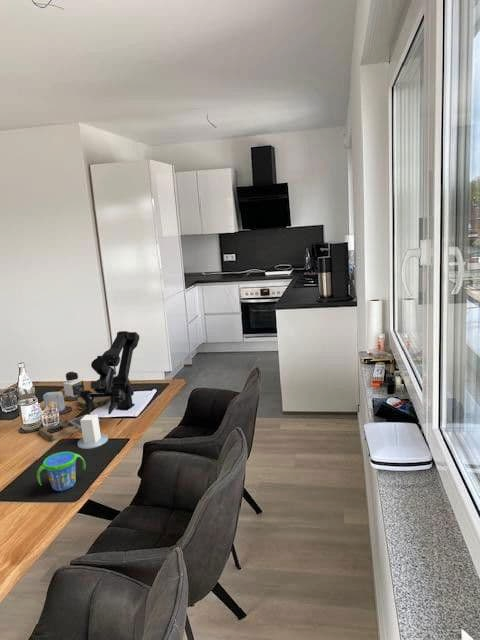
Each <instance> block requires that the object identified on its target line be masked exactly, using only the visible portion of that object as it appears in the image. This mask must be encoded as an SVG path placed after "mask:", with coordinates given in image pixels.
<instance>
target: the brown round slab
mask: <svg viewBox="0 0 480 640" xmlns="http://www.w3.org/2000/svg"><path fill="white" fill-rule="evenodd" d="M91 392H92V393H96V391H91ZM92 401H94V402H93V406H92V409H96V408H100V407H103V406H106V405H107V404H110V402H111V397H94V399H93V400H92ZM77 405H78V407H79V408H80V409H87V407H86V402H85V401H84V400H83V399H82V398H81V397H80V396H78V398H77Z"/></svg>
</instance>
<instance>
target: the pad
mask: <svg viewBox="0 0 480 640" xmlns="http://www.w3.org/2000/svg"><path fill="white" fill-rule="evenodd" d="M100 434H101V438H100V439H99V440H98V441H97V442H96V443H84V440H83V437H82V438H80V439H79V440H77V443H76V444H77V447H78V448H80V449H84V450H89V449H96V448H99V447H101V446H103V445H105V444H106V443H107V442H108V441H109V437H108V435H107V434H105V433H100Z"/></svg>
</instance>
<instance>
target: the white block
mask: <svg viewBox="0 0 480 640" xmlns="http://www.w3.org/2000/svg"><path fill="white" fill-rule="evenodd" d="M84 415H85V416H84ZM84 415H83V416H84V417H83V418H82V419H81V420H80V422H81V428H82V429H81V432H82V433H81V434H82V438H83V440H84V443H96V442H97V441H98V440H99V439H100V438H101V434H102V433H101V429H100V422H99V421H98V418H99V417H98V416H99V415H98V414H91V415H87V414H84Z"/></svg>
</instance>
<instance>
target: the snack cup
mask: <svg viewBox="0 0 480 640" xmlns="http://www.w3.org/2000/svg"><path fill="white" fill-rule="evenodd" d="M78 458H79V459H80V460H81V464H82V469H83V470H86V466H87V465H86V460H85V459H84V458H83V457H82V456H81V455H80V454H78V453H74V452H72V451H61V452H55V453H53V454H50V455H49V456H47V457H46V458H45V459H44V460H43V463H42V464H41V465H40V466H39V468H38V469H37V472H36V479H37V482H38V483H39V485H40V486H42V485H43V484H42V482H41V474H40V473H42V471H43V470H45V471H46V474H47V476H48V480H49V484H50V485H51V487H52V490H54V491H57V492H63V491H66V490H68V489H71V488H73V487H74V485H75V484H76V479H77V478H76V477H77V475H76V471H77V470H76V468H77V467H76V463H77V459H78Z"/></svg>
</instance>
